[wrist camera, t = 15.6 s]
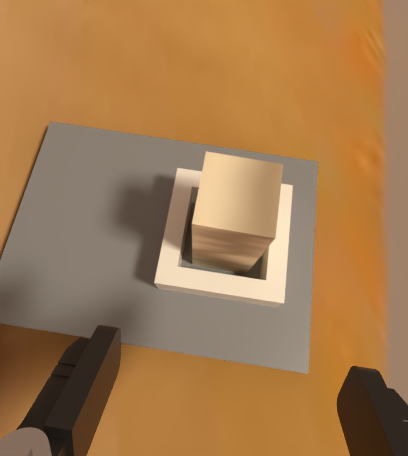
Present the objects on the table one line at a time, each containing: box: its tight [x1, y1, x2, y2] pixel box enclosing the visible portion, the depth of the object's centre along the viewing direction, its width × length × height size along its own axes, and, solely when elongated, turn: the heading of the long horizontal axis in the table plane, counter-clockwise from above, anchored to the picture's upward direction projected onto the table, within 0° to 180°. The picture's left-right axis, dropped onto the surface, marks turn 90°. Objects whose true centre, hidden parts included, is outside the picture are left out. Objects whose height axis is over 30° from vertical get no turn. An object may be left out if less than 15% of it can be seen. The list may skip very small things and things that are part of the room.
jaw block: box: [192, 151, 283, 274], centre depth 22 cm, size 4×4×10 cm
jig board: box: [0, 121, 318, 374], centre depth 27 cm, size 25×18×4 cm
